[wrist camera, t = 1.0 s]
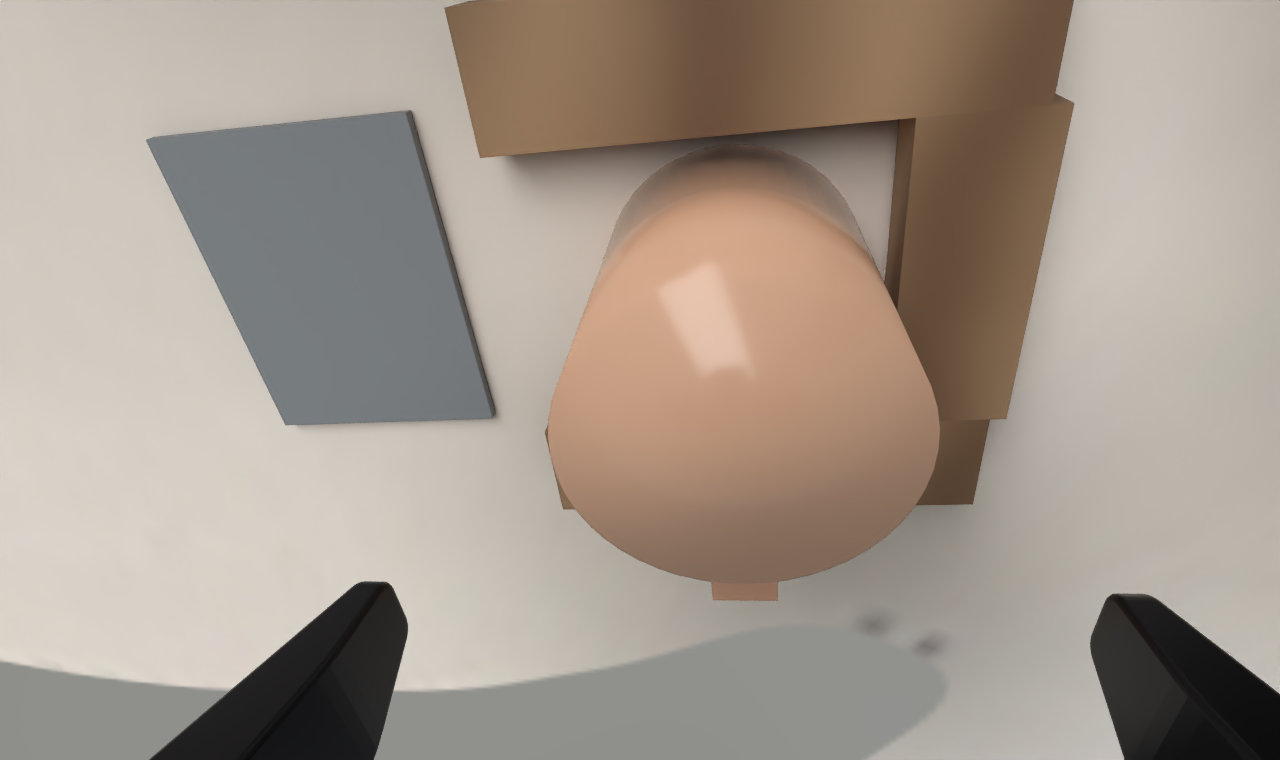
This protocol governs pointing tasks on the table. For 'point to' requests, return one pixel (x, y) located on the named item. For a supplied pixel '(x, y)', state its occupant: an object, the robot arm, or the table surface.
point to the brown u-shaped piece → (824, 96)
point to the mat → (333, 266)
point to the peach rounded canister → (741, 380)
